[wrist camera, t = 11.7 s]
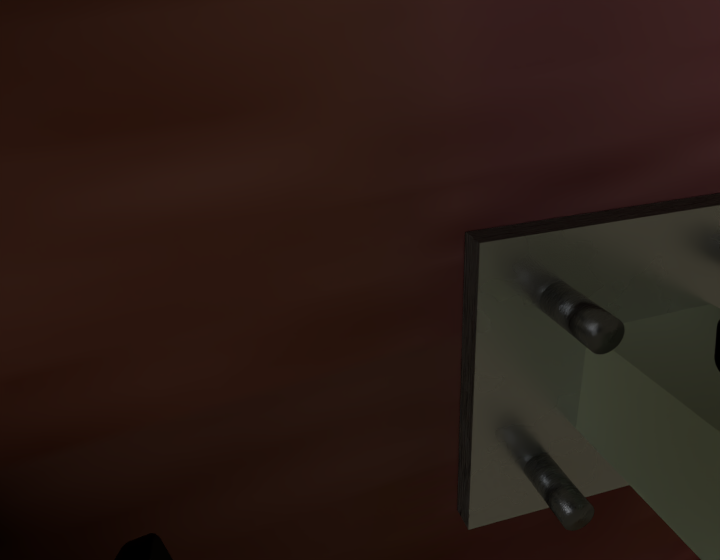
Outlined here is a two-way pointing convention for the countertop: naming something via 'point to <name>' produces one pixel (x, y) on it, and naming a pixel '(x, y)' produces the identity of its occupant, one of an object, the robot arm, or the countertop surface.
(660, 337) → the plate
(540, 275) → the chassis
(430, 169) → the countertop surface
